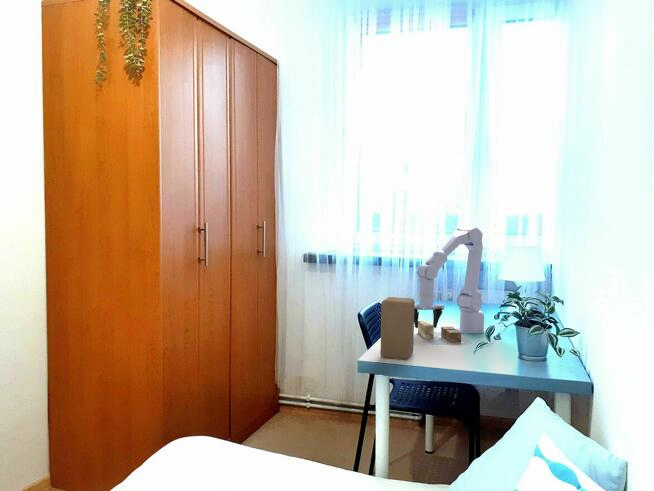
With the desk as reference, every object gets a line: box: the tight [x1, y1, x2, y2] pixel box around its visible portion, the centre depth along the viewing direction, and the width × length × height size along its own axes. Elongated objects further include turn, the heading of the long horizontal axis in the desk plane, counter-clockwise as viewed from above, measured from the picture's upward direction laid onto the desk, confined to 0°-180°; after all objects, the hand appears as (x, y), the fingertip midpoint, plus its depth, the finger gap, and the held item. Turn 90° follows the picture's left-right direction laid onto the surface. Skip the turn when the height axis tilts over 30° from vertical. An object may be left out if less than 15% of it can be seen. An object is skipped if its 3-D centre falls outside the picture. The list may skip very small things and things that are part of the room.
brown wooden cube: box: [440, 326, 457, 339], centre depth 226 cm, size 4×4×4 cm
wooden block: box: [380, 296, 416, 361], centre depth 198 cm, size 10×10×20 cm
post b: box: [446, 329, 462, 343], centre depth 220 cm, size 4×4×4 cm
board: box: [417, 331, 473, 346], centre depth 226 cm, size 16×20×1 cm
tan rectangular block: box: [417, 320, 435, 340], centre depth 229 cm, size 4×10×5 cm, turn 7°
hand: (425, 327), depth 229 cm, fingers open, 7 cm apart
